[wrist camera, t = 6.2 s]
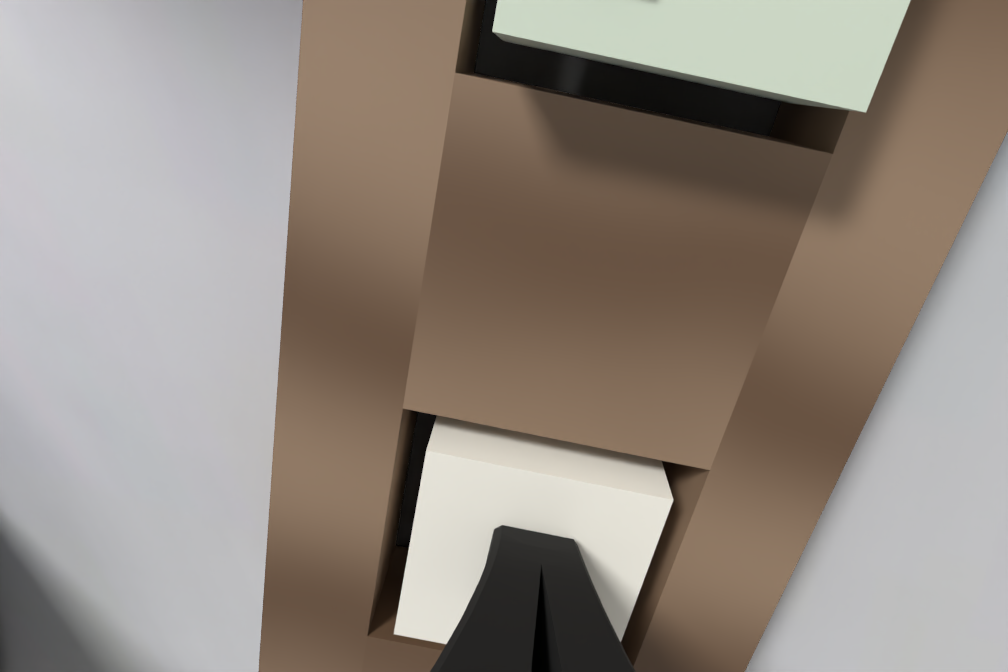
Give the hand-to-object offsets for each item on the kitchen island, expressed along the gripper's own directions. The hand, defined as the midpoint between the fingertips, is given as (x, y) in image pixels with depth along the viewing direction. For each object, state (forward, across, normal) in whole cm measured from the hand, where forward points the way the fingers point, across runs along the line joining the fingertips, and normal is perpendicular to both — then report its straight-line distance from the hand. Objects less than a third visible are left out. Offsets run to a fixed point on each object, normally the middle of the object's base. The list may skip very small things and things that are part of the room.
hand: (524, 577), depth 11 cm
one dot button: (+2, 0, 0) cm, 2 cm away
